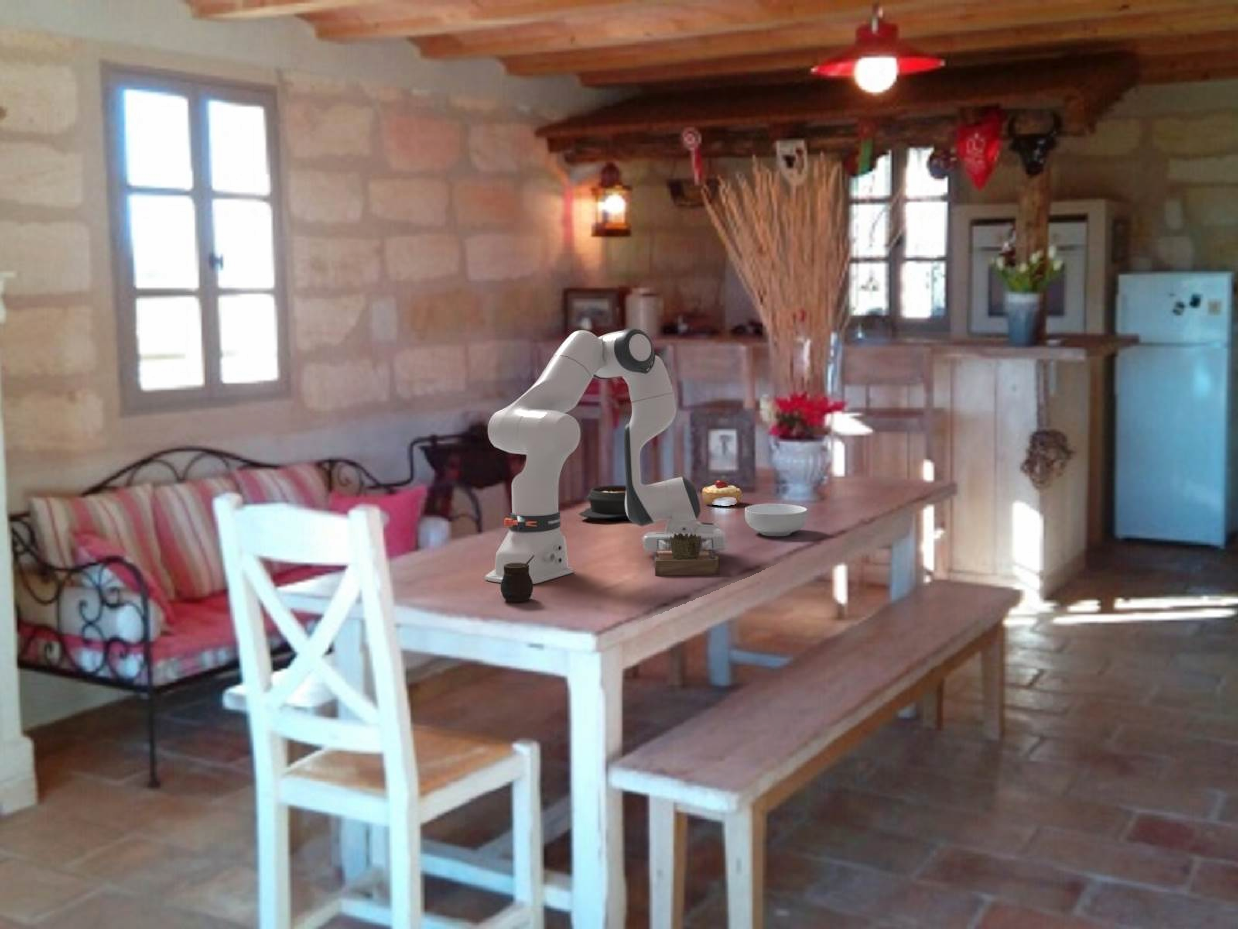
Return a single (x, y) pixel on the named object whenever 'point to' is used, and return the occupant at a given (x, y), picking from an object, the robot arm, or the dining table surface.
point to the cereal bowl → (775, 518)
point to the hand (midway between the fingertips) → (685, 547)
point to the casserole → (607, 503)
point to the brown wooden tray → (686, 564)
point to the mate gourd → (516, 582)
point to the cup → (685, 546)
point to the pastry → (720, 492)
